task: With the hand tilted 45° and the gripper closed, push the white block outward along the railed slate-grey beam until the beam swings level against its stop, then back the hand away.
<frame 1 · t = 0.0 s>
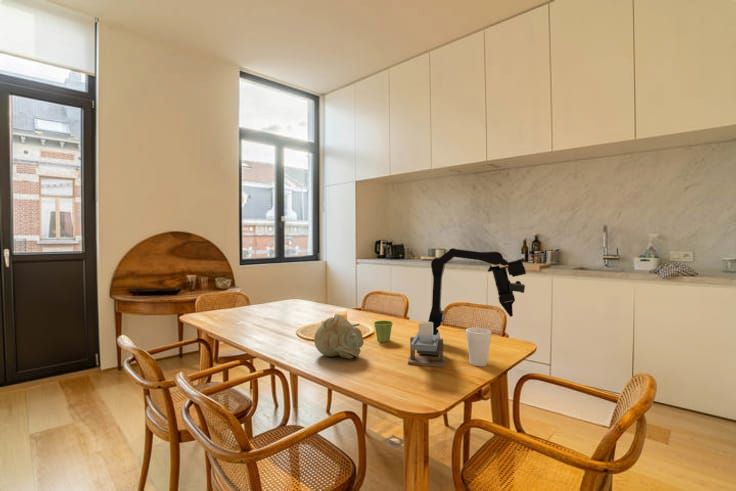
hand: (510, 314, 160), 15 cm above the table, tool pointing down, fingers open, 9 cm apart
sculpture: (339, 356, 153), on the table
plant pot: (383, 340, 176), on the table
seesaw stand: (426, 362, 145), on the table
foam cup: (478, 363, 144), on the table
white block: (426, 341, 142), point 9 cm above the table, tilted 6°, touching beam
beam: (426, 348, 143), point 6 cm above the table, hinge at -5.7°, touching white block
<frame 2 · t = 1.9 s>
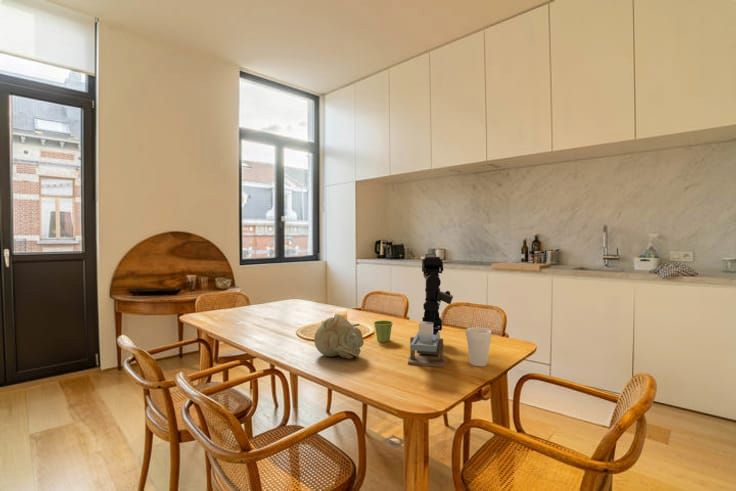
hand: (432, 322, 157), 13 cm above the table, tool pointing down, fingers open, 7 cm apart
beam: (426, 348, 143), point 6 cm above the table, hinge at -5.2°, touching white block
everything else where it was.
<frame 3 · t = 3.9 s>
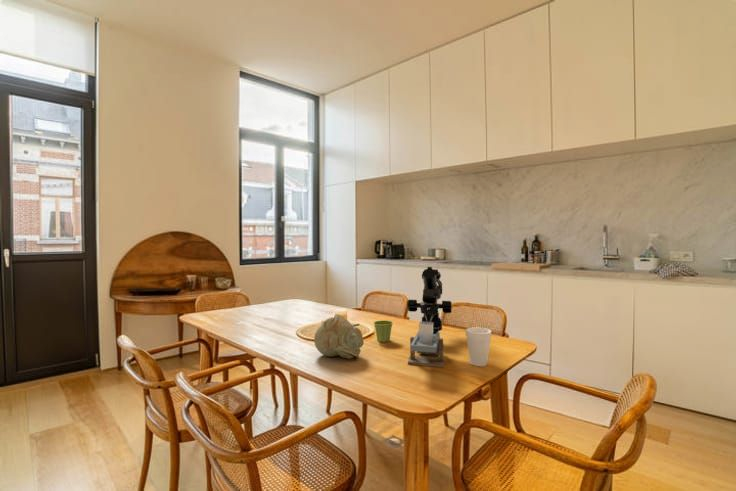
hand: (428, 323, 153), 13 cm above the table, tool tilted 45°, fingers closed
white block: (426, 341, 143), point 9 cm above the table
beam: (426, 348, 143), point 6 cm above the table, hinge at -4.3°
everything else where it was.
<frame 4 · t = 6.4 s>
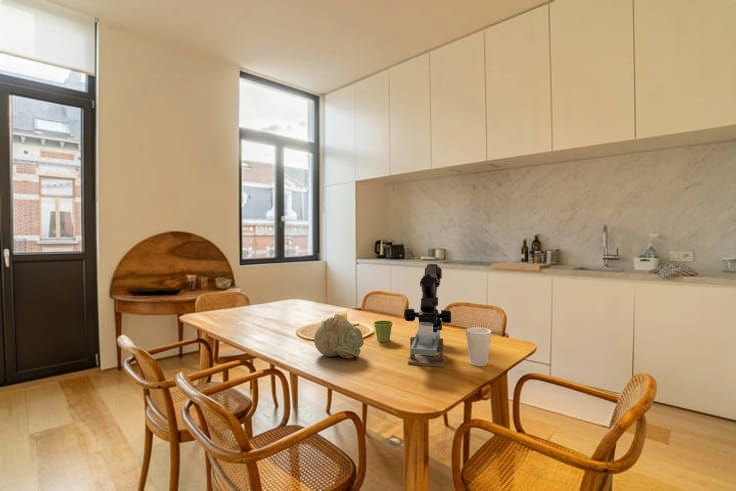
hand: (426, 334, 145), 11 cm above the table, tool tilted 45°, fingers closed, pressing on white block
white block: (425, 342, 142), point 9 cm above the table, touching beam, gripper
beam: (426, 348, 144), point 6 cm above the table, hinge at -0.2°, touching white block
everything else where it was.
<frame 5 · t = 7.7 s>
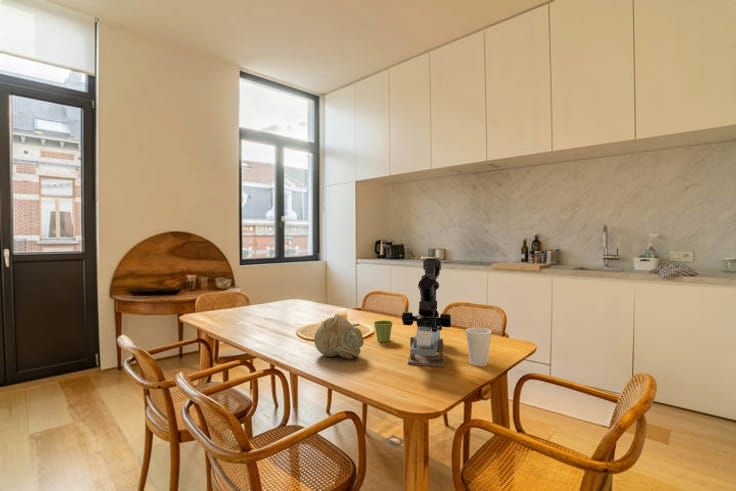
hand: (425, 339, 138), 11 cm above the table, tool tilted 45°, fingers closed, pressing on white block
white block: (424, 347, 135), point 9 cm above the table, touching gripper
beam: (426, 348, 144), point 6 cm above the table, hinge at 0.3°
everything else where it was.
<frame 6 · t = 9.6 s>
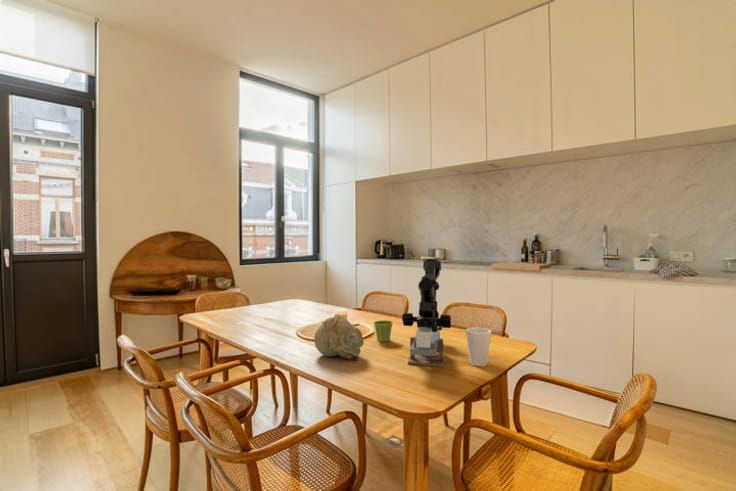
hand: (425, 339, 139), 11 cm above the table, tool tilted 45°, fingers closed
white block: (424, 348, 134), point 9 cm above the table, touching beam
beam: (426, 348, 144), point 6 cm above the table, hinge at 0.2°, touching white block
everything else where it was.
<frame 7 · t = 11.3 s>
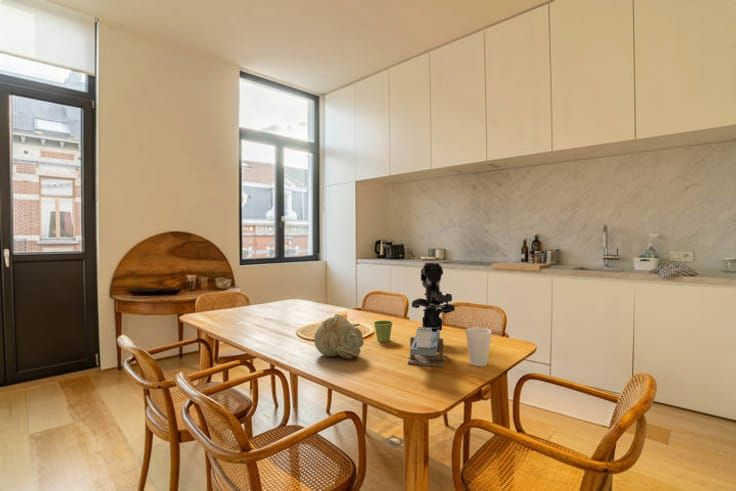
hand: (434, 326, 153), 12 cm above the table, tool tilted 25°, fingers closed
nothing on the table moved.
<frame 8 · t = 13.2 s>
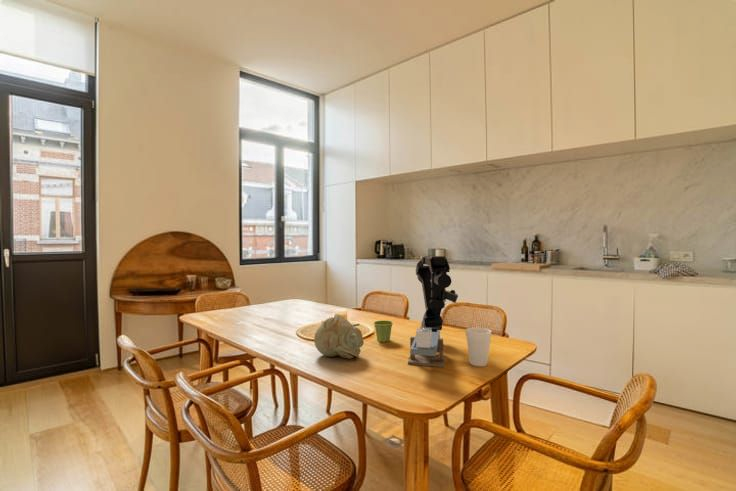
hand: (438, 320, 160), 13 cm above the table, tool pointing down, fingers closed
nothing on the table moved.
at the end: beam at +0° (first picture: -6°); white block inside the target area on the beam (0.1 cm from its centre), point 0.5 cm above the beam's base; white block tilted 0° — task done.
